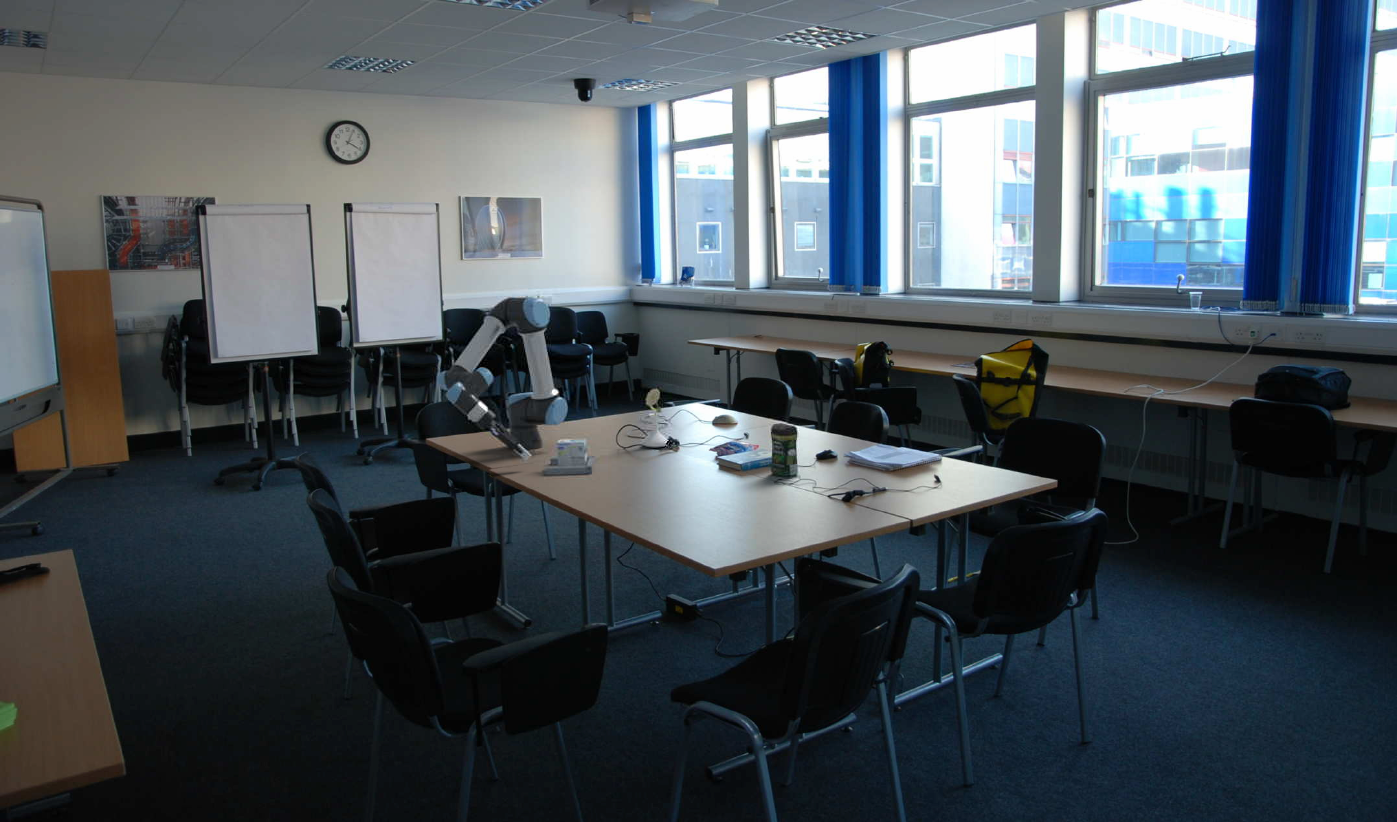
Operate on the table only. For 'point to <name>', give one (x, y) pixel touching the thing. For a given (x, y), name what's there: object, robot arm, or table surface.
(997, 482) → the table surface
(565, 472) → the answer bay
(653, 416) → the flower in vase
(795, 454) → the coffee jar
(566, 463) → the light bulb box
